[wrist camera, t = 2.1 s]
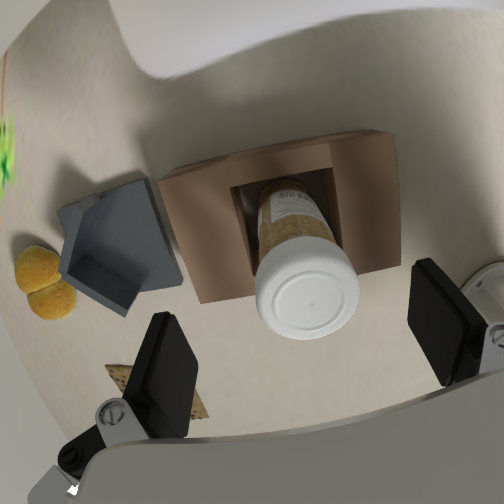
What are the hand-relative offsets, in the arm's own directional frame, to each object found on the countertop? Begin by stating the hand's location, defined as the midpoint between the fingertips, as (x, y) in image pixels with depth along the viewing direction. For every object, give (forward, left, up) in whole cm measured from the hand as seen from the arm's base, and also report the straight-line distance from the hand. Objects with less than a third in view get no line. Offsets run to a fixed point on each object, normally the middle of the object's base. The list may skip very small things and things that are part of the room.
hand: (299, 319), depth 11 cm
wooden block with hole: (-1, 0, -15) cm, 15 cm away
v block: (+14, 0, -15) cm, 21 cm away
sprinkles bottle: (-1, 0, -15) cm, 15 cm away
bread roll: (+26, +3, -15) cm, 31 cm away
